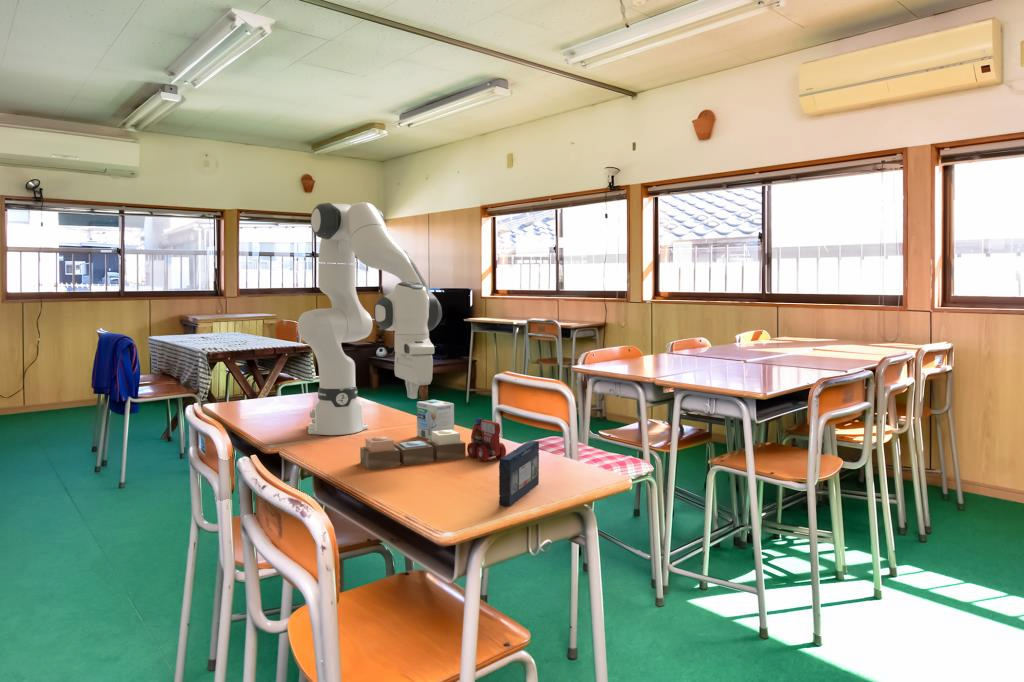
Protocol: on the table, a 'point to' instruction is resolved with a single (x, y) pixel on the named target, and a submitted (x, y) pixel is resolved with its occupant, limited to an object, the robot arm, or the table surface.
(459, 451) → the walnut bases
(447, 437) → the cream block
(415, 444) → the slate block
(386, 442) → the terracotta block
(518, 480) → the vhs cassette tape
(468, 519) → the table surface
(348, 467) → the table surface
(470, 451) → the toy fire truck
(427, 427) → the light bulb box
